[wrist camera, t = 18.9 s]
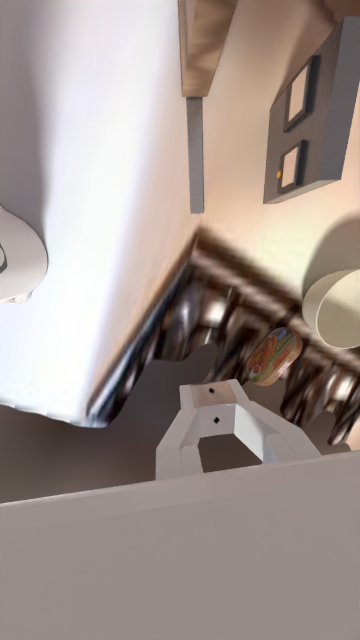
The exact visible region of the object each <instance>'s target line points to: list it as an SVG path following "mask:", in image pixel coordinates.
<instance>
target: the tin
mask: <svg viewBox="0 0 360 640" xmlns="http://www.w3.org/2000/svg"><path fill="white" fill-rule="evenodd" d="M301 350H302V340H301V338H300V337H299V336H298V335H297V334H296V333H295V332H294V331H293V330H292V329H290V328H287V327H281V328H277V329H275V330H273V331H272V332H271V333H269V334H268V336H267V337H266V338H265V339H264V340H263V342H262V343H261V344H260V345H259V347H258V348H257V349H256V350H255V351H254V352H253V354H252V355H251V356H250V357H249V359H248V361H247V363H246V367H245V372H246V376H247V378H248V379H249V380H250V381H251V382H253V383H256V384H258V385H260V386H268V385H271V384H273V383H274V382H275V381H276V380H277V379H278V378H279V377H280V376H281V375H282V374H283V372H284V371H285V370H286V369H287V368H288V367H289V366H290V365H291V364H292V362H293V361H294V360H295V359H296V358H297V357H298V356H299V354H300V352H301Z"/></svg>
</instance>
